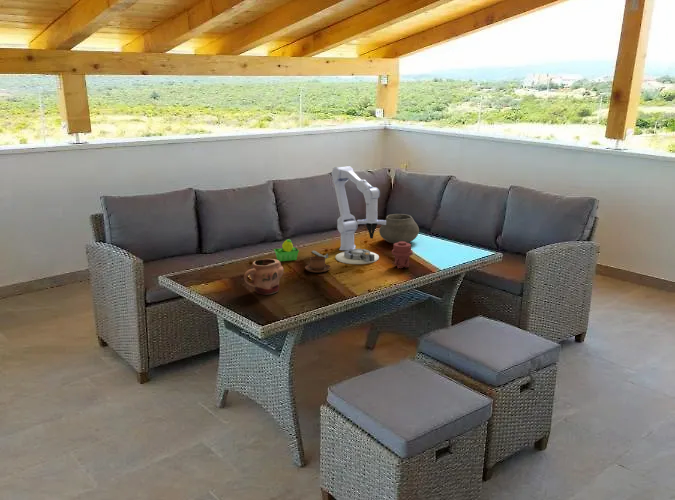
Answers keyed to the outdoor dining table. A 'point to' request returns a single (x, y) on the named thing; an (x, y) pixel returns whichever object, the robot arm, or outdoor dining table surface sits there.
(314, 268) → the cup and saucer
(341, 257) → the white round disc
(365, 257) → the grey block crown
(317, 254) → the pin spanner
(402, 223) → the clay pot
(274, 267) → the decorative planter
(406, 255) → the mechanical component
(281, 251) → the fruit basket
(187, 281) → the outdoor dining table surface
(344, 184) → the robot arm
